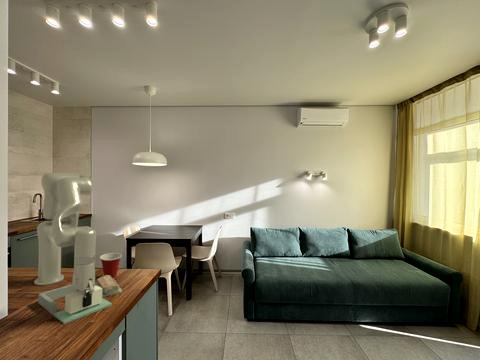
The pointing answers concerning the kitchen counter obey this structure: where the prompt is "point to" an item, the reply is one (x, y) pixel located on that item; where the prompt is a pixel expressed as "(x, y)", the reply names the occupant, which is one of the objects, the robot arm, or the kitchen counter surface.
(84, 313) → the pad
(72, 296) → the carton
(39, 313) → the kitchen counter surface
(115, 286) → the packaged product
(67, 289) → the frame
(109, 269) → the plastic cup
